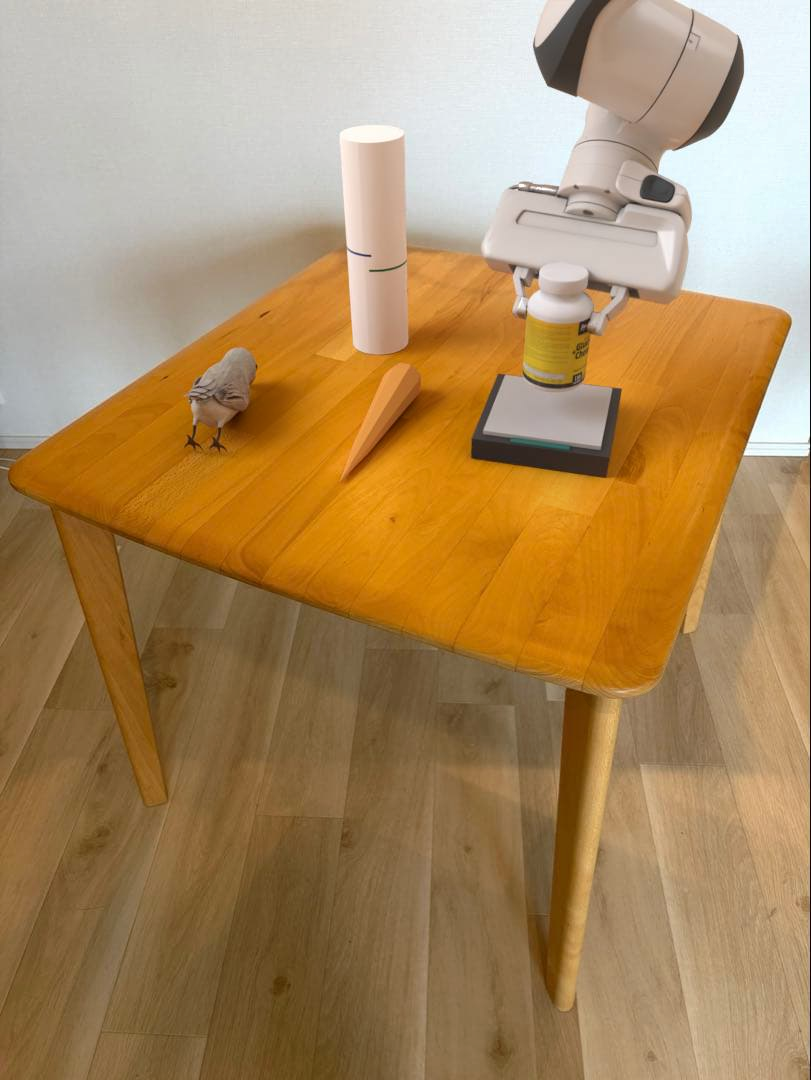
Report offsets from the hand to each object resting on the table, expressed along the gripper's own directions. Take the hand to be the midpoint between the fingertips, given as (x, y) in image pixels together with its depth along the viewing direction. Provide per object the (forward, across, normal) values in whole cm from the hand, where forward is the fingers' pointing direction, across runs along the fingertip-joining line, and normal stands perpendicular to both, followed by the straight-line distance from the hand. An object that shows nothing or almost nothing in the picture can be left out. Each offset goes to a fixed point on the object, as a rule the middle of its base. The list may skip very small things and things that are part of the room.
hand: (556, 325), depth 84 cm
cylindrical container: (+2, -27, +16) cm, 32 cm away
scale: (+9, 0, +10) cm, 13 cm away
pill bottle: (+4, 0, +5) cm, 7 cm away
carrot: (+15, -17, +3) cm, 23 cm away
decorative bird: (+19, -33, 0) cm, 38 cm away
